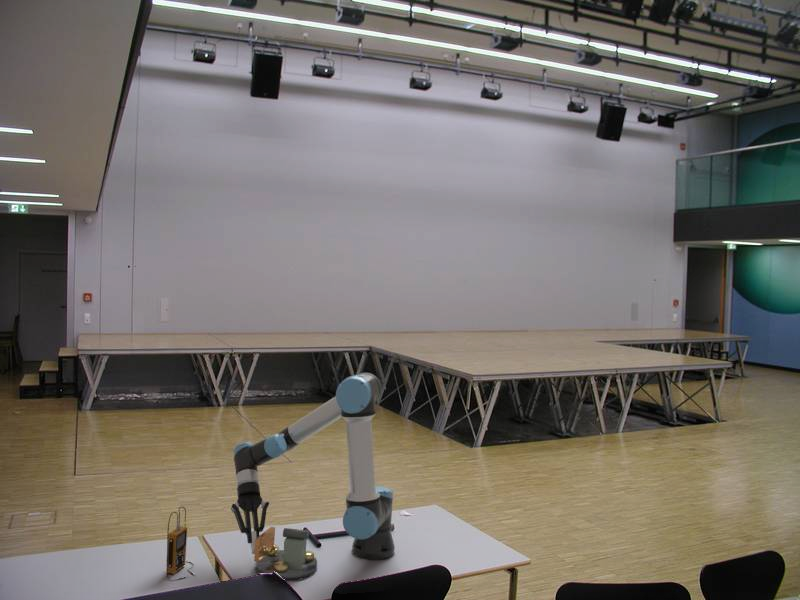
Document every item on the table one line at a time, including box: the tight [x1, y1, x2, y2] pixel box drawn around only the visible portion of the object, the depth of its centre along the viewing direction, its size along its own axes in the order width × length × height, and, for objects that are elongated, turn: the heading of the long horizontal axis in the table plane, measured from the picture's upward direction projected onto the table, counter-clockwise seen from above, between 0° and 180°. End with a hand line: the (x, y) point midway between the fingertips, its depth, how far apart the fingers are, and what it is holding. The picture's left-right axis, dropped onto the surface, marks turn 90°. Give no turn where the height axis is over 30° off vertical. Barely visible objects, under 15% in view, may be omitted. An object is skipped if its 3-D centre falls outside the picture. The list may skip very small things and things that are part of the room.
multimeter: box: [166, 506, 188, 579], centre depth 225 cm, size 15×10×20 cm
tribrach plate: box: [255, 549, 318, 582], centre depth 233 cm, size 20×20×4 cm
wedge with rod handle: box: [282, 527, 310, 570], centre depth 230 cm, size 8×6×12 cm
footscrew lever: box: [253, 526, 280, 562], centre depth 232 cm, size 15×4×10 cm, turn 166°
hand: (254, 552), depth 228 cm, fingers closed
